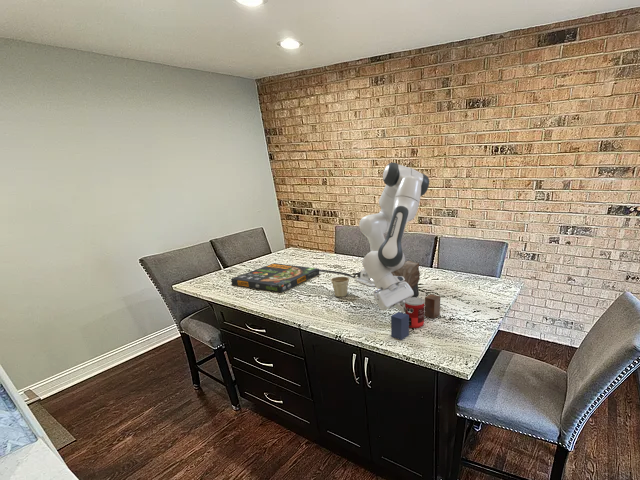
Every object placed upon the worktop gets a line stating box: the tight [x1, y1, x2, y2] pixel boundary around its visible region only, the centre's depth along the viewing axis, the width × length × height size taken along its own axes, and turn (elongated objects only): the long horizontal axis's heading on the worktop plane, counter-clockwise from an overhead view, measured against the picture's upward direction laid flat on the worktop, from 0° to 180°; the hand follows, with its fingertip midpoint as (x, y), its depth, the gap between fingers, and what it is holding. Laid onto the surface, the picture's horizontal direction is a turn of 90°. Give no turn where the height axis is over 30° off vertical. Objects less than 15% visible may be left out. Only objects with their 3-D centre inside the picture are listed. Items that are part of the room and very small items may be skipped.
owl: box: [391, 260, 421, 307], centre depth 164 cm, size 13×13×20 cm
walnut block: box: [424, 293, 441, 320], centre depth 150 cm, size 5×5×9 cm
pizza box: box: [230, 262, 320, 293], centre depth 200 cm, size 35×35×4 cm
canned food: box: [404, 297, 425, 329], centre depth 141 cm, size 8×8×11 cm
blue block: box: [390, 311, 410, 341], centre depth 132 cm, size 5×5×9 cm
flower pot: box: [330, 276, 350, 298], centre depth 174 cm, size 9×9×9 cm
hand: (405, 311), depth 144 cm, fingers closed, pressing on canned food
